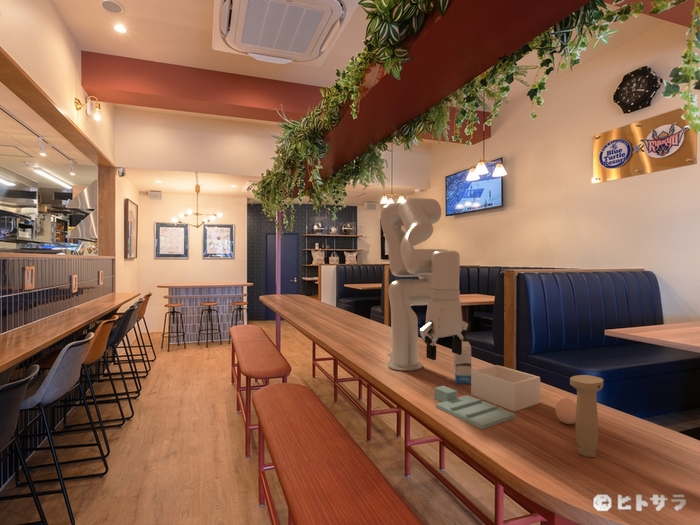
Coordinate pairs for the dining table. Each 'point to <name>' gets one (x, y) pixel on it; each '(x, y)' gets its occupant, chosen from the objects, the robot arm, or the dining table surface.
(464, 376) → the ink box
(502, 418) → the lid
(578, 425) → the handle
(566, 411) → the egg
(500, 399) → the tub
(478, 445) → the dining table surface
